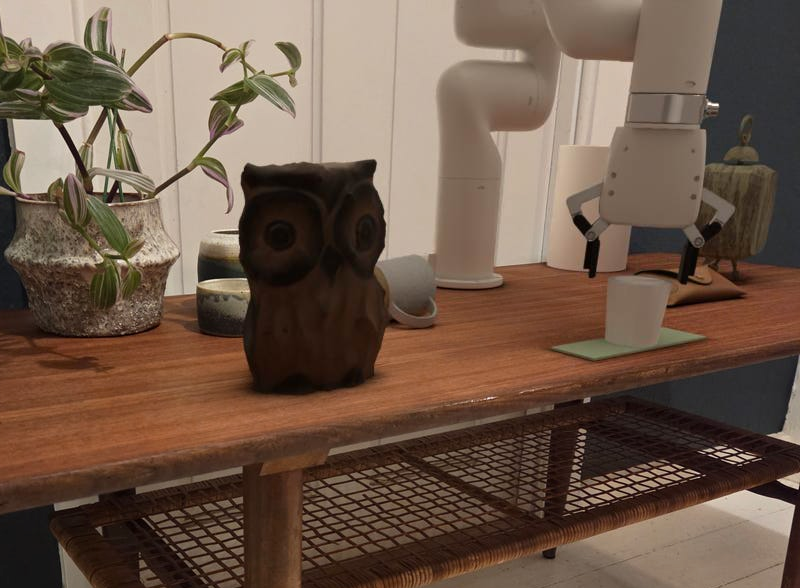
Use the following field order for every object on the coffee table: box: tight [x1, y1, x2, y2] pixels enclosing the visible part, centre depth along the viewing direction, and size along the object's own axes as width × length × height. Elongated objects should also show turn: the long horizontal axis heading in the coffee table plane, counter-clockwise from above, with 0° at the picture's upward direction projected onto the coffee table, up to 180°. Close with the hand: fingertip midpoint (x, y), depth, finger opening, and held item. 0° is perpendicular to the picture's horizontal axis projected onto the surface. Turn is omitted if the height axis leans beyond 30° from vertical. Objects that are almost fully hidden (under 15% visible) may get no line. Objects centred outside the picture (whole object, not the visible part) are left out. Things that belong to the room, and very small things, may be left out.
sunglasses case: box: [632, 263, 749, 307], centre depth 128 cm, size 18×7×7 cm
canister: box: [546, 144, 633, 273], centre depth 153 cm, size 14×14×20 cm
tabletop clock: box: [694, 114, 779, 281], centre depth 140 cm, size 14×9×25 cm, turn 144°
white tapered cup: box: [604, 274, 673, 347], centre depth 99 cm, size 7×7×7 cm
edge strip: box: [550, 326, 708, 362], centre depth 100 cm, size 20×6×1 cm, turn 124°
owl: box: [237, 158, 391, 396], centre depth 80 cm, size 13×13×20 cm
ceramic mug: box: [374, 253, 438, 329], centre depth 109 cm, size 11×8×8 cm
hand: (636, 279), depth 98 cm, fingers open, 9 cm apart
